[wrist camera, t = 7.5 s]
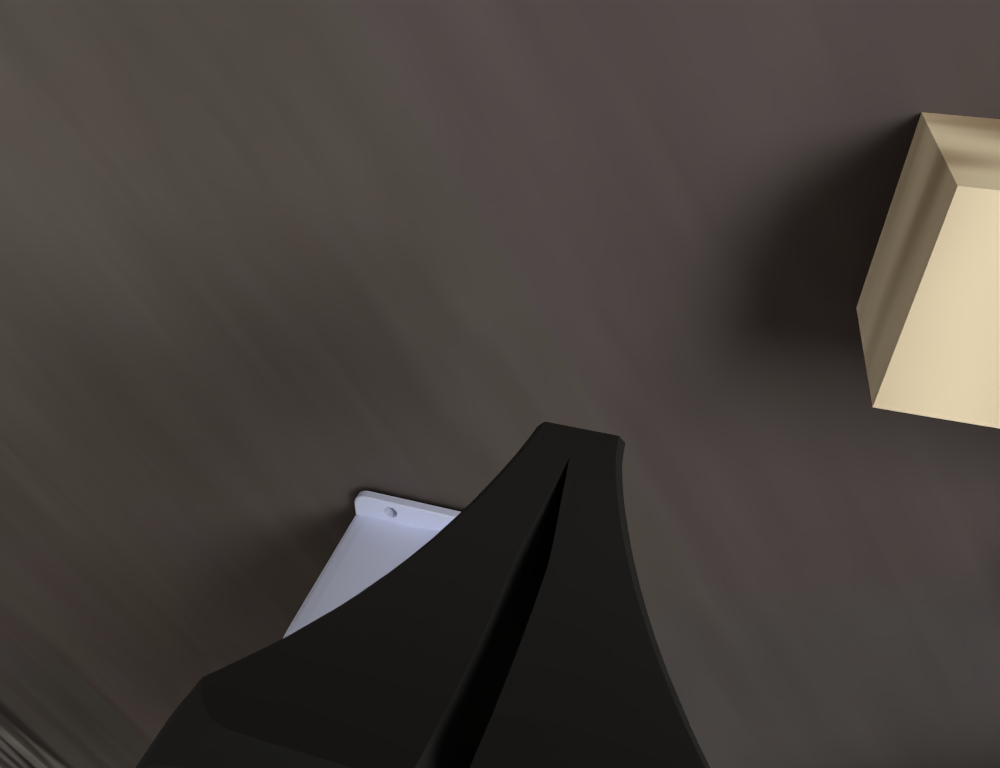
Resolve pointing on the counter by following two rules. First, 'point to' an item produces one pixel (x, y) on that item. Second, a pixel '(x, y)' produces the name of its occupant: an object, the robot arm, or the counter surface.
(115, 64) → the counter surface
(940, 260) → the block
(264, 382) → the counter surface
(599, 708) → the robot arm
